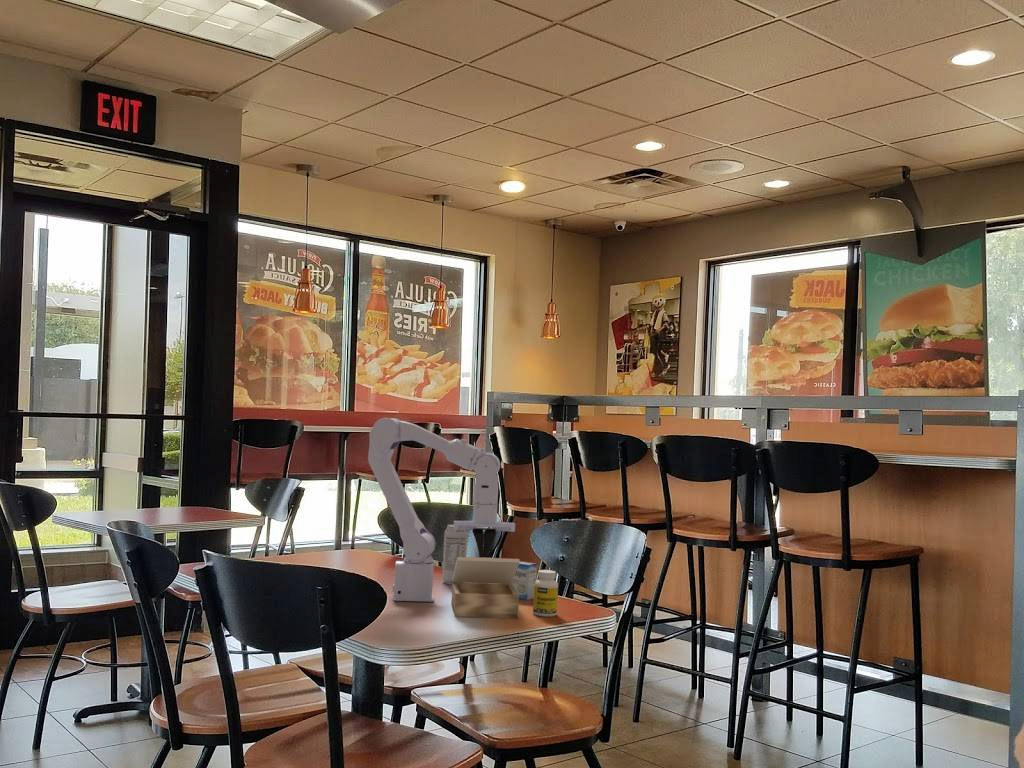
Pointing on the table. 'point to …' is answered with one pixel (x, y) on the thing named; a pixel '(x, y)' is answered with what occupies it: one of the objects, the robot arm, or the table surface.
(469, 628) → the table surface
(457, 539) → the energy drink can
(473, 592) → the crate
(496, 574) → the lid
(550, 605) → the supplement bottle
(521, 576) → the medicine box
